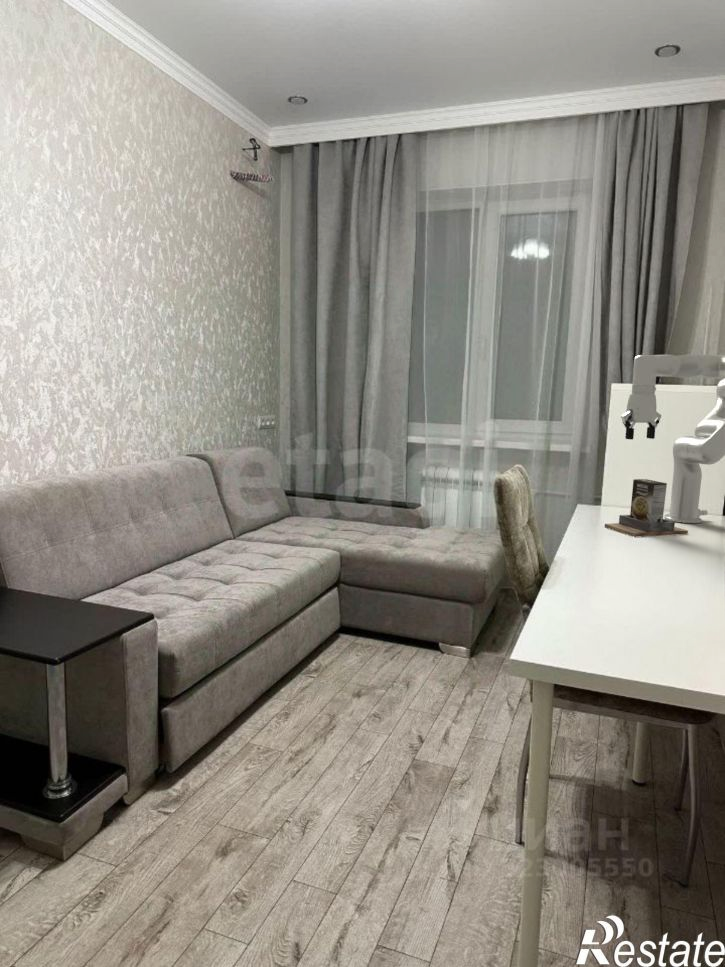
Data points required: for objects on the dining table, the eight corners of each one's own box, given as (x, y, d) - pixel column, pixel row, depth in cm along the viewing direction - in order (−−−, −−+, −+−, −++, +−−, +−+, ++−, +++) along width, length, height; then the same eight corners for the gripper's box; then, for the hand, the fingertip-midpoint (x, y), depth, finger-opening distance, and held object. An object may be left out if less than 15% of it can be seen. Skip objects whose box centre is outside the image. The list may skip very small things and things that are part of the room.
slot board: (655, 524, 236) (656, 513, 235) (687, 534, 221) (689, 521, 221) (604, 527, 229) (605, 515, 228) (634, 536, 215) (635, 524, 214)
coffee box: (628, 524, 228) (632, 479, 226) (642, 523, 230) (646, 478, 228) (648, 530, 220) (653, 483, 217) (663, 529, 222) (667, 482, 220)
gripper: (653, 390, 237) (650, 437, 240) (616, 390, 231) (613, 438, 234) (670, 390, 230) (666, 439, 233) (632, 390, 224) (628, 440, 227)
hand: (639, 438), depth 233 cm, fingers open, 9 cm apart
